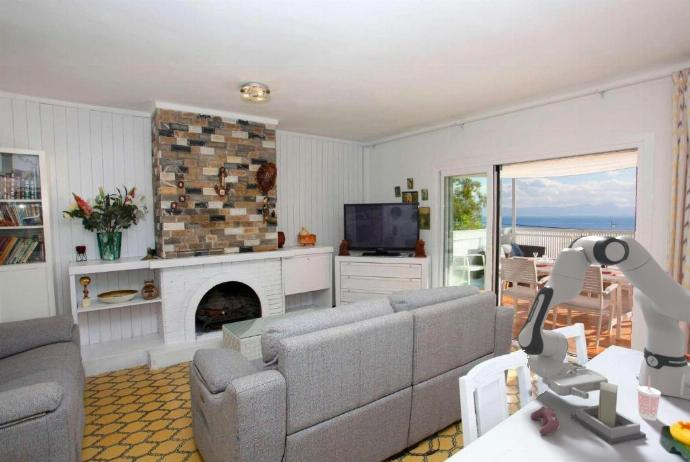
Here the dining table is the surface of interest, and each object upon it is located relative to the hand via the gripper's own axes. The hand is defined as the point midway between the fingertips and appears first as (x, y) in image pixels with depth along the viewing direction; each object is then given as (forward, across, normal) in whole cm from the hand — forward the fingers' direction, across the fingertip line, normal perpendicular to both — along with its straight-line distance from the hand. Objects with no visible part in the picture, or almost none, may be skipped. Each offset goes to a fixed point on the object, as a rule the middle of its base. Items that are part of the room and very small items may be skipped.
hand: (598, 394), depth 118 cm
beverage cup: (+2, +18, +9) cm, 21 cm away
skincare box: (+3, 0, +8) cm, 9 cm away
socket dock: (+3, 0, +9) cm, 10 cm away
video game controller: (-2, -19, +9) cm, 21 cm away
